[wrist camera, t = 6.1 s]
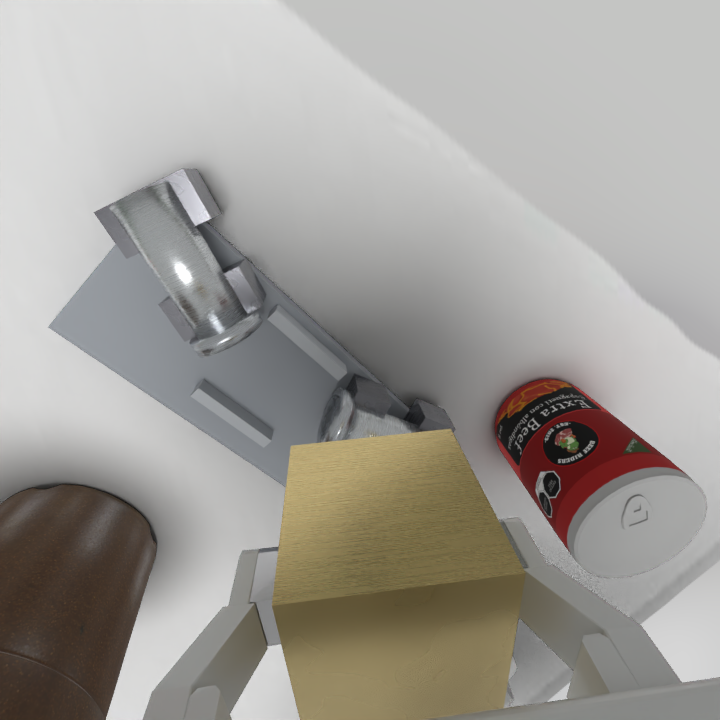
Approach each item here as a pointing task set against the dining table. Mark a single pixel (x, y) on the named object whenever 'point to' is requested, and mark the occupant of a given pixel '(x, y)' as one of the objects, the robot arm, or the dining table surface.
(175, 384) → the grey base plate
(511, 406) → the canned food
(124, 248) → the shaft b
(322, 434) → the shaft
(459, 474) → the golden yellow cube
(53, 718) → the plant pot
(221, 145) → the dining table surface
